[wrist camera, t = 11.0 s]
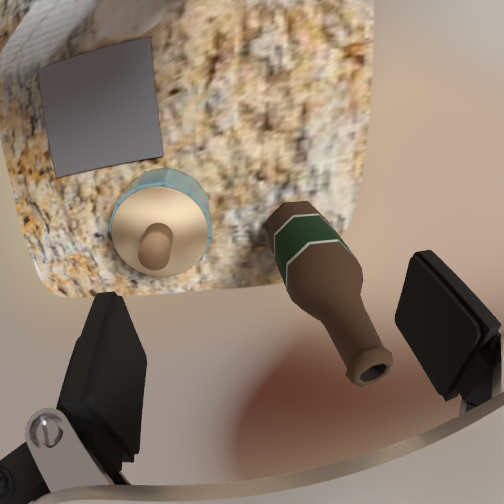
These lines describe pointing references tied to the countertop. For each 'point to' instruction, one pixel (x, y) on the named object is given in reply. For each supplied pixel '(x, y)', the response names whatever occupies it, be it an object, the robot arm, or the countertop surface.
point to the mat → (101, 108)
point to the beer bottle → (328, 287)
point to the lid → (160, 231)
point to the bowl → (174, 181)
